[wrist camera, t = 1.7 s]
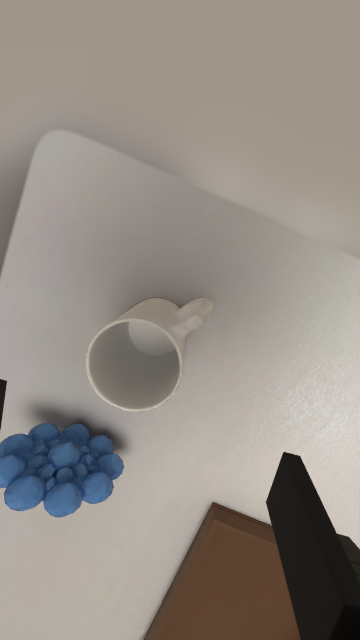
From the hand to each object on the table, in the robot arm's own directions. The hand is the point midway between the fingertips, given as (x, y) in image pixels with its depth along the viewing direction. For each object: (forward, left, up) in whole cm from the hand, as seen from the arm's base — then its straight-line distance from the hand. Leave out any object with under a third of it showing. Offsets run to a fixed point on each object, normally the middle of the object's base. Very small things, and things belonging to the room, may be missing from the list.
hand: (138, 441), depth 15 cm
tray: (+5, +37, -20) cm, 42 cm away
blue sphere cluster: (+14, +8, -20) cm, 26 cm away
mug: (0, -2, -20) cm, 20 cm away
